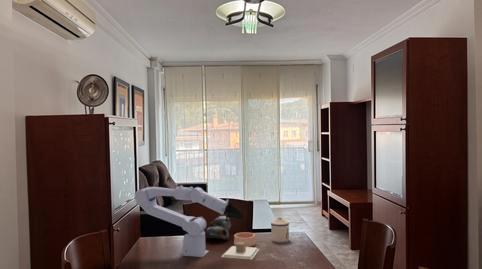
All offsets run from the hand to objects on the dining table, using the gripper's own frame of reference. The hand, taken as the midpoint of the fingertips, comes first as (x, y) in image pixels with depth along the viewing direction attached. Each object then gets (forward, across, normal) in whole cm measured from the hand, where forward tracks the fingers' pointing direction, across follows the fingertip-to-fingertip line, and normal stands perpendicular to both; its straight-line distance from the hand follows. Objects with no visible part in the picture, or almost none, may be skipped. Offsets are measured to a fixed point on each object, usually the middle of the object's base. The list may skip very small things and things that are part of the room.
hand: (241, 216), depth 158 cm
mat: (+6, +10, +14) cm, 18 cm away
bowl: (+5, +22, +9) cm, 24 cm away
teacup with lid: (+19, +29, -1) cm, 35 cm away
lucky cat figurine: (-10, +31, +12) cm, 35 cm away
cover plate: (+6, +10, +14) cm, 18 cm away
